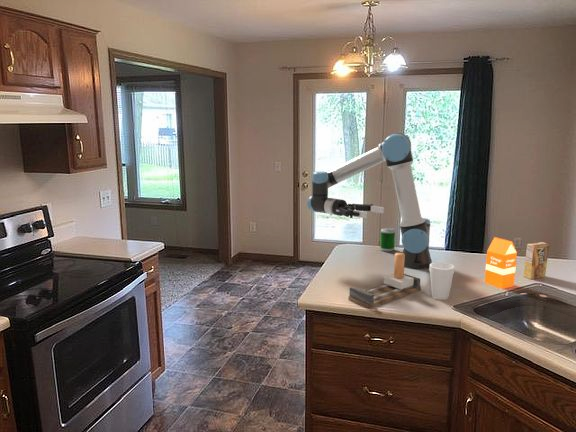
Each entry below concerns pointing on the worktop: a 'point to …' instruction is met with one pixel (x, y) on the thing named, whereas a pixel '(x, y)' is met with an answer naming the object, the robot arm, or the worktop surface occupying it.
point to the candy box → (536, 260)
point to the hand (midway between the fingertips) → (375, 212)
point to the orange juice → (500, 263)
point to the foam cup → (441, 279)
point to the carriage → (399, 274)
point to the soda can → (387, 239)
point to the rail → (381, 294)
